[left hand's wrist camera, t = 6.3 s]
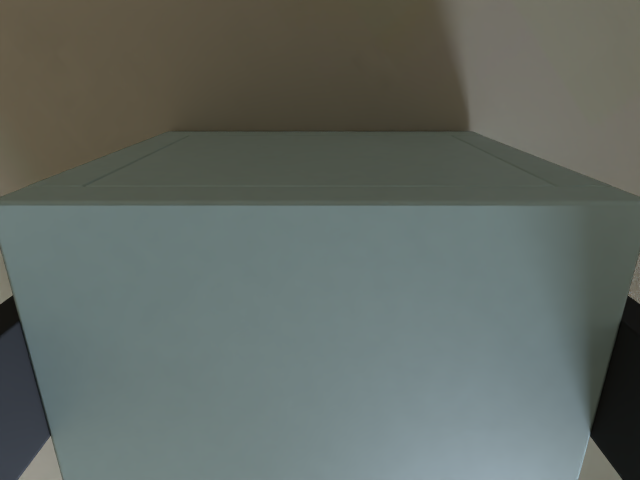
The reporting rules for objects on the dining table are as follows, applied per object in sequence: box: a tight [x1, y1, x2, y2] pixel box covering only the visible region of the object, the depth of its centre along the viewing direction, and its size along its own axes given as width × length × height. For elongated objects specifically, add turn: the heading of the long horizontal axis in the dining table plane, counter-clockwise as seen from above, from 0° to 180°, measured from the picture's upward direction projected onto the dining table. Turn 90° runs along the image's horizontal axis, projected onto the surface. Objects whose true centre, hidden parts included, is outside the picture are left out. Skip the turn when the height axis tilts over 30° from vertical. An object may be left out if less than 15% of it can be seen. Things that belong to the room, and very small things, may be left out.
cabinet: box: [0, 132, 640, 480], centre depth 15 cm, size 19×11×9 cm, turn 0°
